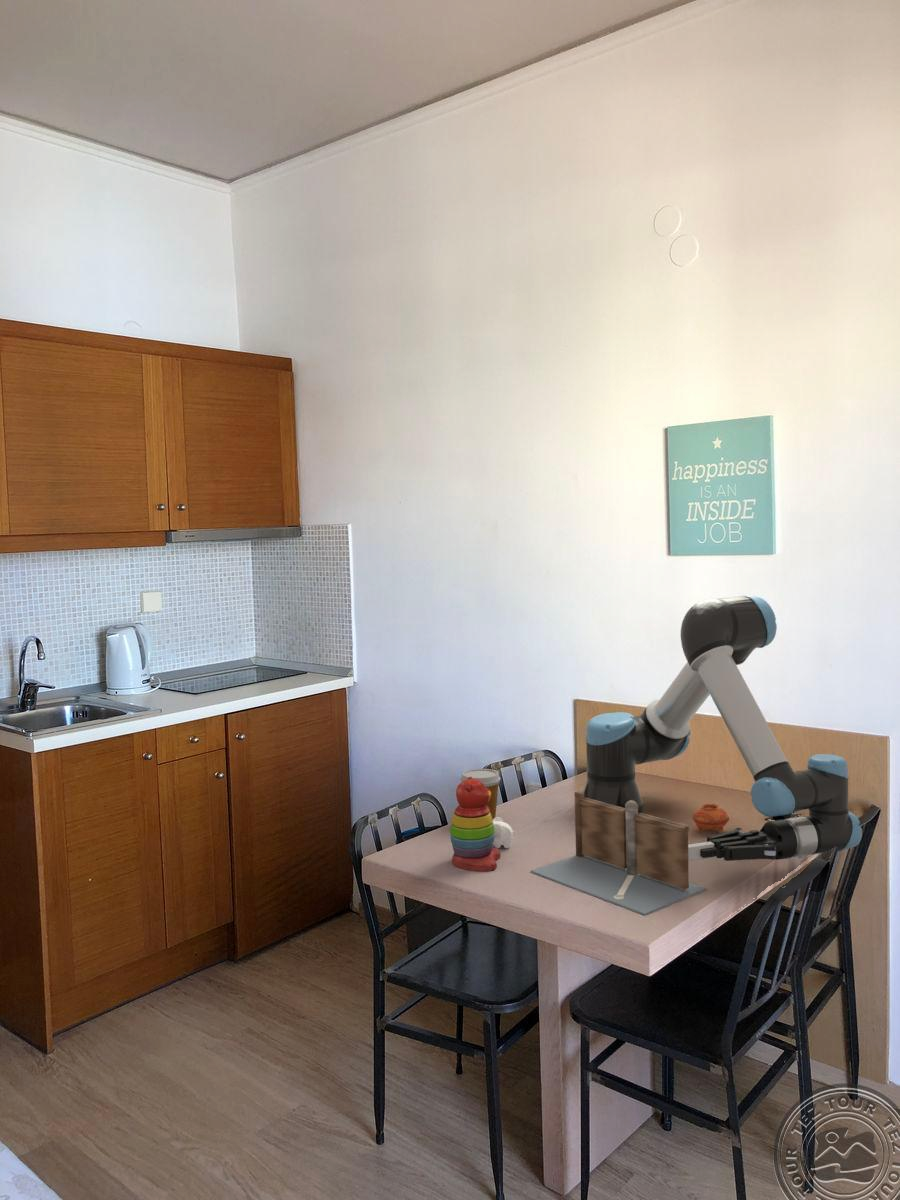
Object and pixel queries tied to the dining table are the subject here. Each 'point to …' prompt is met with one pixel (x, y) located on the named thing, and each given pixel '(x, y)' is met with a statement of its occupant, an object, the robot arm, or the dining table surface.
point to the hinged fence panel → (662, 850)
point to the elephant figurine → (502, 833)
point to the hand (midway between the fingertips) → (682, 853)
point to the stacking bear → (473, 828)
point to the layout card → (616, 884)
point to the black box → (783, 816)
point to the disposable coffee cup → (486, 784)
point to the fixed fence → (606, 832)
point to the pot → (710, 818)
